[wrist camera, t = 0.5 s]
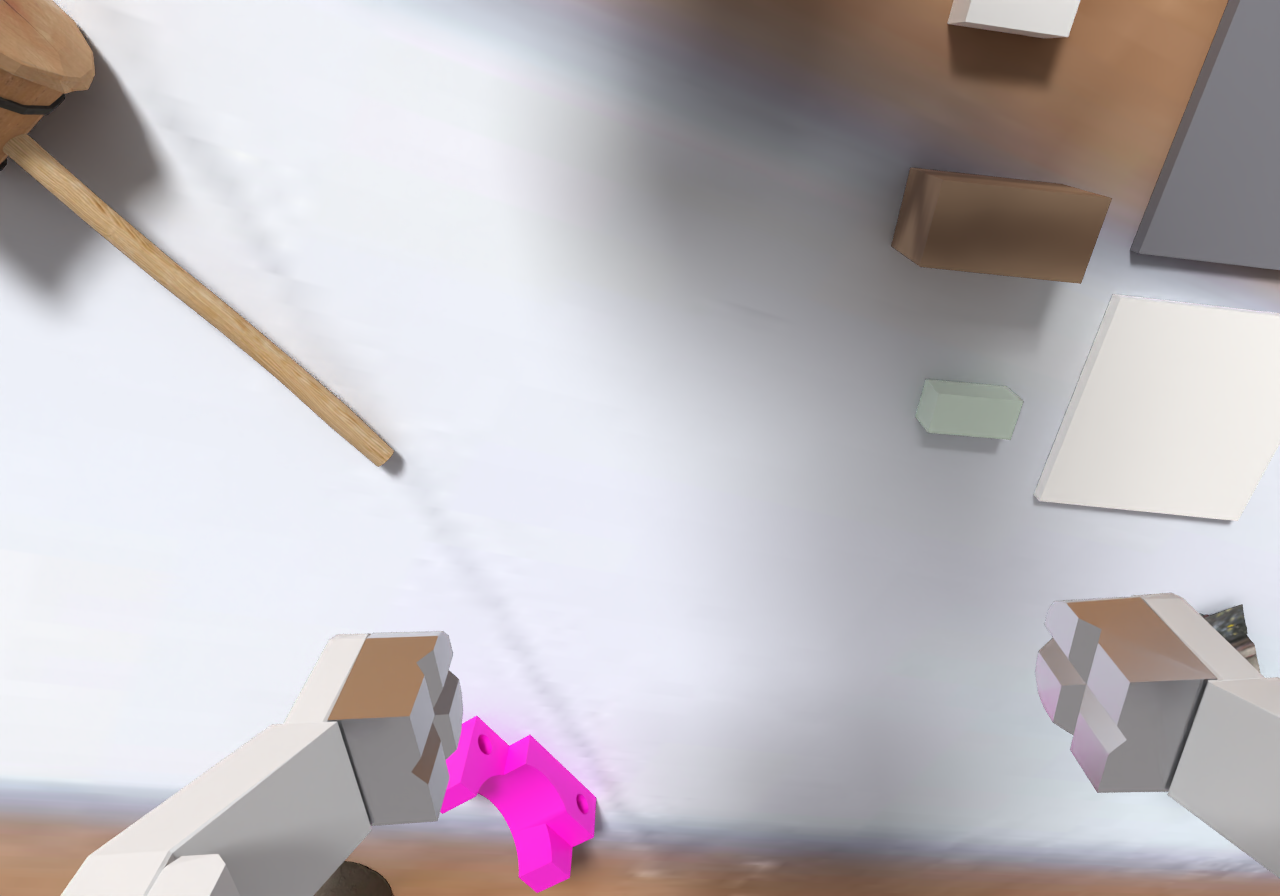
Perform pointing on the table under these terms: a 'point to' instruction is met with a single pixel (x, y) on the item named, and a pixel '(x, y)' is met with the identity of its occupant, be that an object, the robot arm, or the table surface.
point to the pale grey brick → (1017, 16)
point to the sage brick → (968, 409)
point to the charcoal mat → (1225, 152)
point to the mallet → (3, 116)
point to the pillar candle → (354, 882)
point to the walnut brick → (998, 225)
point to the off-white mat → (1170, 411)
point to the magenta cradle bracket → (524, 799)
